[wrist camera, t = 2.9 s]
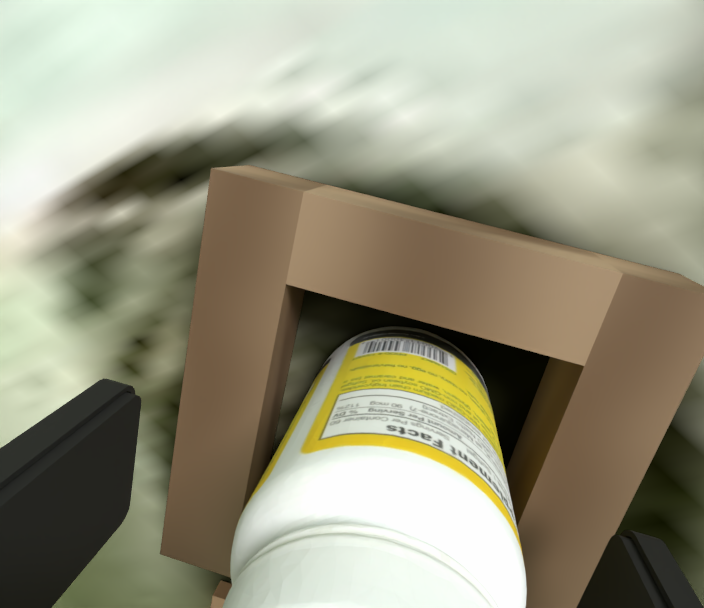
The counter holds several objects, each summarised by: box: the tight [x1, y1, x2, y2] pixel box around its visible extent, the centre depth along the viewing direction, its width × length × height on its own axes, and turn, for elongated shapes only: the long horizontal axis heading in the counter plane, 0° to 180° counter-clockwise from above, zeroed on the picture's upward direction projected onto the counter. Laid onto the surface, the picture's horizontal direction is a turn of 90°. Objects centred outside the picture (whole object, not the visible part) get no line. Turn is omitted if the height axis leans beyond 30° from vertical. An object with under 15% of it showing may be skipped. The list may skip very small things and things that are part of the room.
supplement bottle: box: [222, 326, 527, 608], centre depth 10 cm, size 5×5×8 cm
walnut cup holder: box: [160, 165, 704, 608], centre depth 13 cm, size 10×10×2 cm
